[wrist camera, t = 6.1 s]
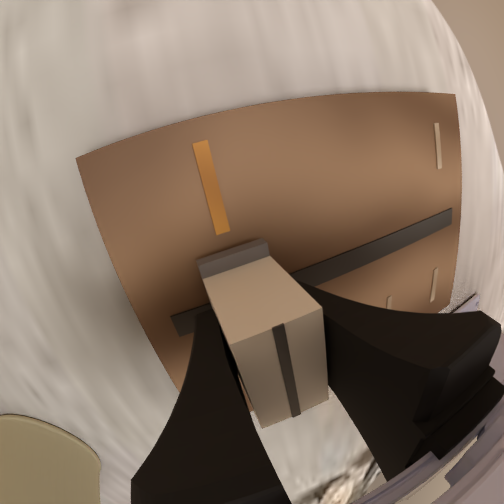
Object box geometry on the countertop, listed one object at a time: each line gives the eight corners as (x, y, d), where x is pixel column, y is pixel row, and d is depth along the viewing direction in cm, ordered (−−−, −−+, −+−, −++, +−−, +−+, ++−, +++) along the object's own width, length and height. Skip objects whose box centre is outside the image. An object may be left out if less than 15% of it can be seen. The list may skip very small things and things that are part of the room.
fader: (284, 342, 12) (329, 407, 9) (232, 362, 12) (265, 436, 8) (262, 238, 10) (321, 291, 7) (195, 260, 10) (224, 329, 6)
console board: (430, 292, 19) (450, 304, 17) (195, 402, 15) (203, 429, 14) (429, 94, 13) (456, 94, 11) (88, 155, 10) (74, 158, 8)
